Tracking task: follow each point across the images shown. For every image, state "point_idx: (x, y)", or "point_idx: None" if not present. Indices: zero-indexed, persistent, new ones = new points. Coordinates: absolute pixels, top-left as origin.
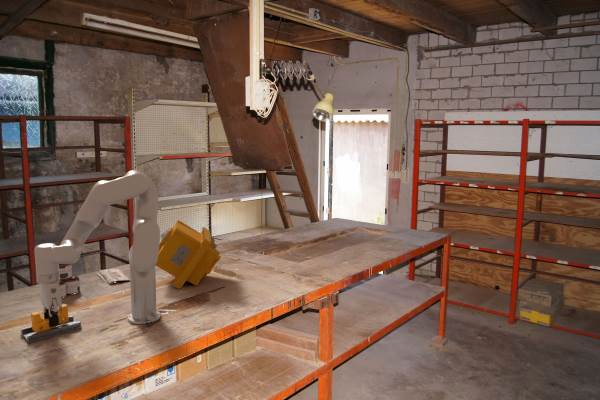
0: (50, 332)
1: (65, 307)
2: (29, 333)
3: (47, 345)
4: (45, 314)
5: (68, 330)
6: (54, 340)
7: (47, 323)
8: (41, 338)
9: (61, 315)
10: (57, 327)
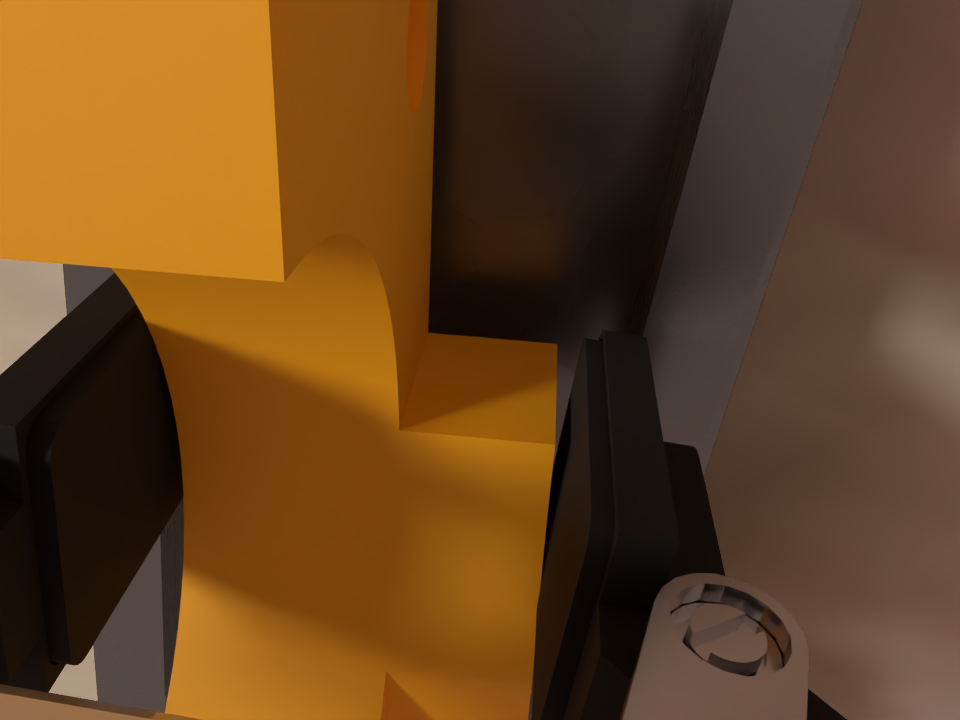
0: None
1: (302, 45)
2: None
3: (955, 627)
4: (99, 622)
5: (828, 100)
6: (887, 473)
7: (531, 627)
8: None
9: (385, 186)
10: (663, 360)
